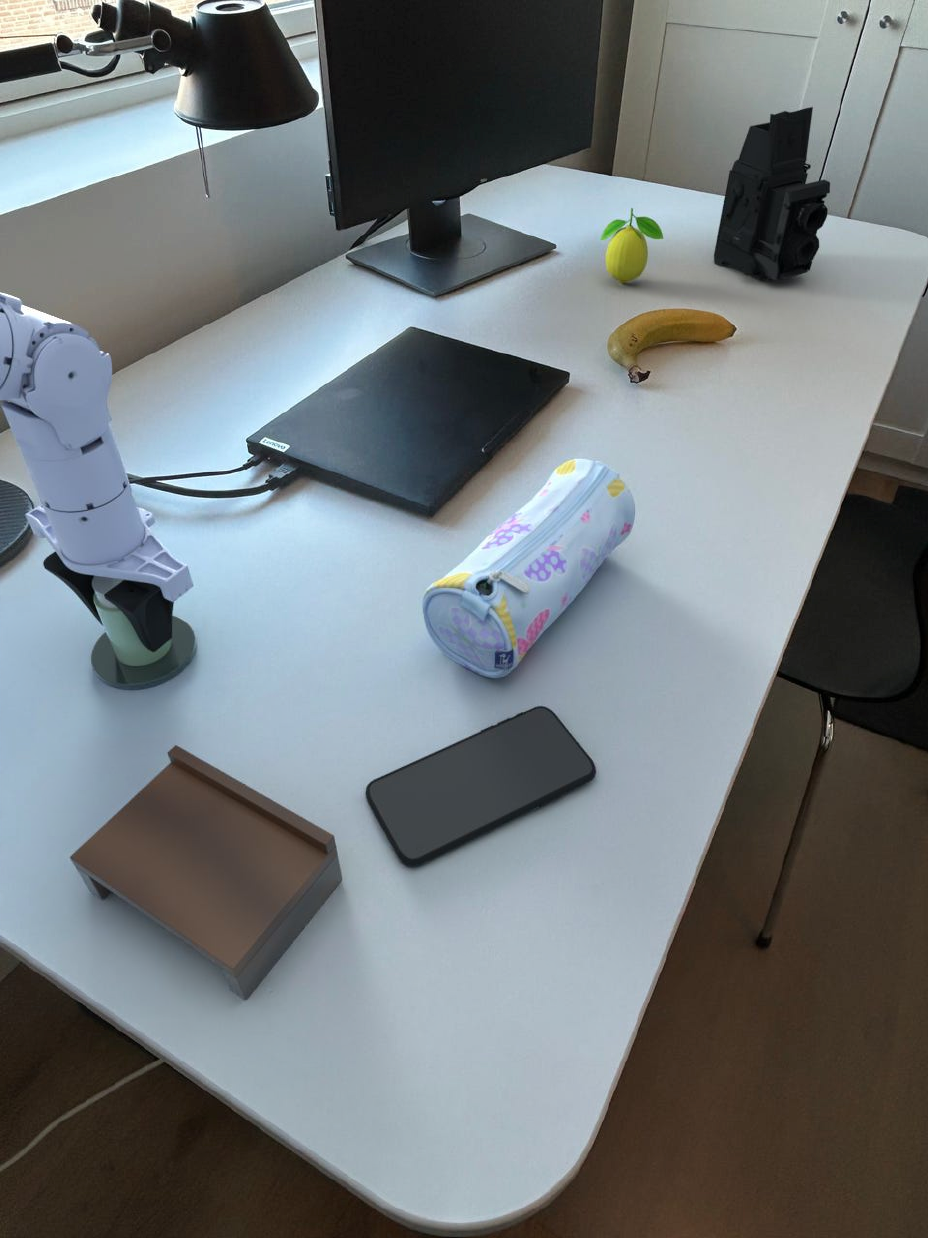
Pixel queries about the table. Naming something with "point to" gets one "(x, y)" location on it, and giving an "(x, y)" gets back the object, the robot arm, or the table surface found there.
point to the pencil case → (529, 569)
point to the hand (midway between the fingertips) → (137, 631)
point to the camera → (772, 202)
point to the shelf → (214, 866)
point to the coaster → (149, 674)
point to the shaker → (122, 628)
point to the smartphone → (478, 784)
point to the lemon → (629, 247)
